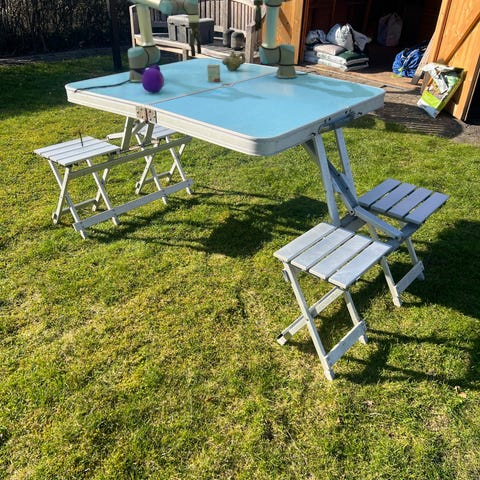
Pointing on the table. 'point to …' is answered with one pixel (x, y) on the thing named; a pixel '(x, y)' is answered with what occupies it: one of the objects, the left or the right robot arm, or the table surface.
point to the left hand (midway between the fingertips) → (196, 55)
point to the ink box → (213, 73)
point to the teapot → (233, 61)
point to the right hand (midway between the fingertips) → (258, 30)
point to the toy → (152, 79)
